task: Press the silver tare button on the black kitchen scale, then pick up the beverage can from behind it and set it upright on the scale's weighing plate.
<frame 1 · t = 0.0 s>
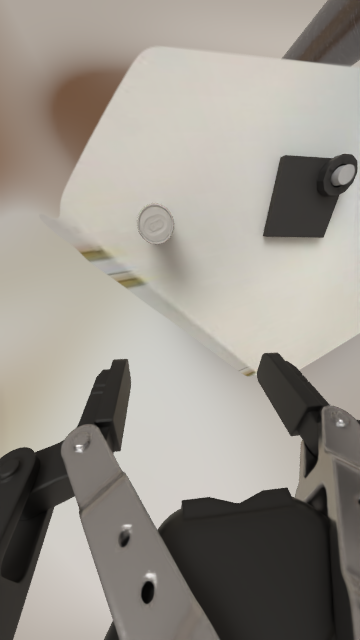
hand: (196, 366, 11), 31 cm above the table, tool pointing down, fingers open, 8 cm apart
scale: (301, 201, 35), on the table
tare button: (342, 175, 30), point 3 cm above the table, slide at 0.1 cm
beverage can: (156, 221, 34), on the table
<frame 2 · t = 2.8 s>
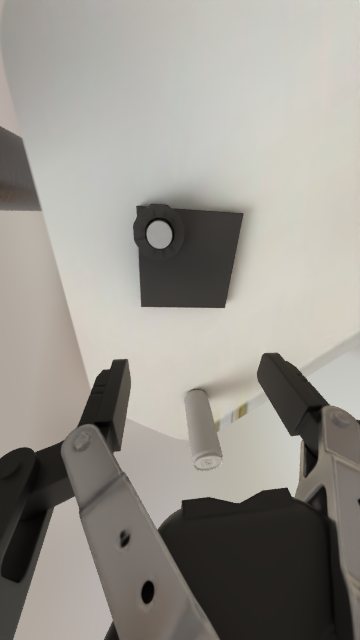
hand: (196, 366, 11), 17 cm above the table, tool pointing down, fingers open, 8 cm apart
scale: (186, 262, 25), on the table
tare button: (159, 234, 20), point 3 cm above the table, slide at 0.1 cm
beverage can: (195, 395, 39), on the table
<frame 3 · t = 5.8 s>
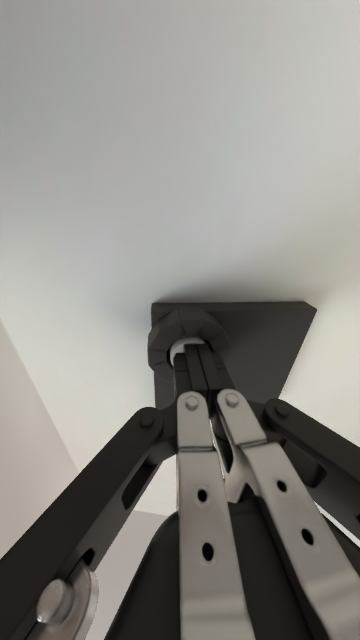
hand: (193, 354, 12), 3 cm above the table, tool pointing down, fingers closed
scale: (220, 362, 17), on the table
tare button: (188, 350, 13), point 2 cm above the table, slide at -0.8 cm, touching gripper
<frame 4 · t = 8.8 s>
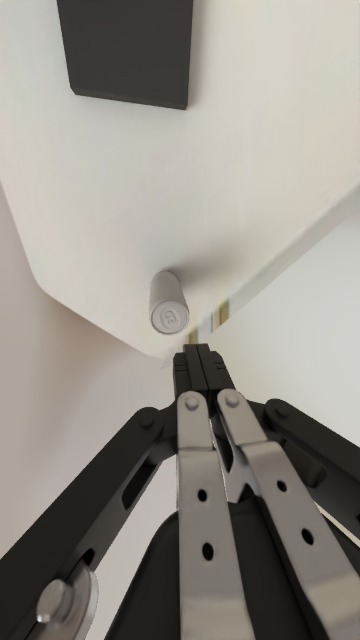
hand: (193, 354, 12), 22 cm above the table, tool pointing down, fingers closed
scale: (128, 12, 18), on the table
beverage can: (164, 283, 32), on the table
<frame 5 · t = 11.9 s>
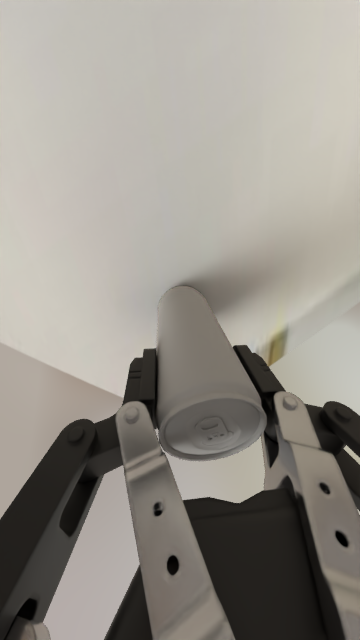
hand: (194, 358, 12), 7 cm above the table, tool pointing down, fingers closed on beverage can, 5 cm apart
beverage can: (181, 306, 18), on the table, touching gripper
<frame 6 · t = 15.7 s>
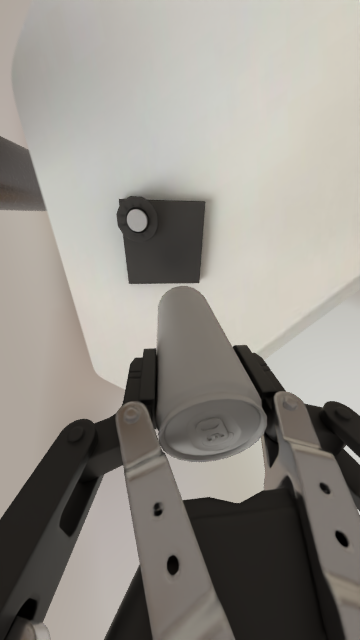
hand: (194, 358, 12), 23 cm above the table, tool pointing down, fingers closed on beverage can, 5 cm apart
scale: (163, 244, 30), on the table
tare button: (137, 220, 25), point 3 cm above the table, slide at 0.1 cm
beverage can: (181, 306, 18), point 16 cm above the table, touching gripper
when the fingers open (9 cm above the table, at t = 19.6 s): beverage can stays where it is, resting on scale.
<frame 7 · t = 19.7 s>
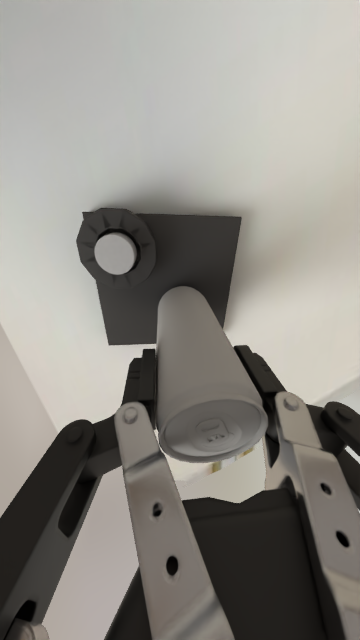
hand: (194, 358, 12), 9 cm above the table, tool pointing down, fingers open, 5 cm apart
scale: (165, 285, 18), on the table
tare button: (117, 253, 13), point 3 cm above the table, slide at 0.1 cm
beverage can: (181, 306, 18), point 1 cm above the table, touching scale
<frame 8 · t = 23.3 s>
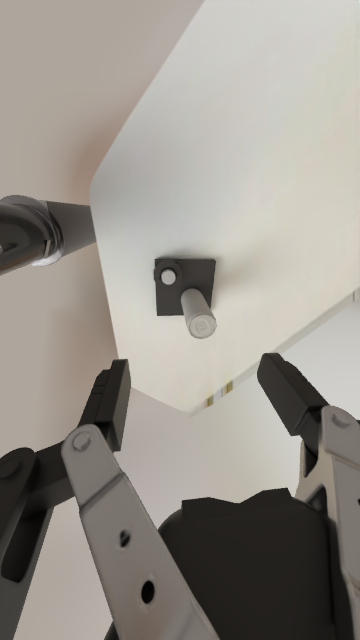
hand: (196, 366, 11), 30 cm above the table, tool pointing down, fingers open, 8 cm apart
scale: (183, 287, 40), on the table
tare button: (168, 276, 35), point 3 cm above the table, slide at 0.1 cm
beverage can: (191, 297, 40), point 1 cm above the table, touching scale
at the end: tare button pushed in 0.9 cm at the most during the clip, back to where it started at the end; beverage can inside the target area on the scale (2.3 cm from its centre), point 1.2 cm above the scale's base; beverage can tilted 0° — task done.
